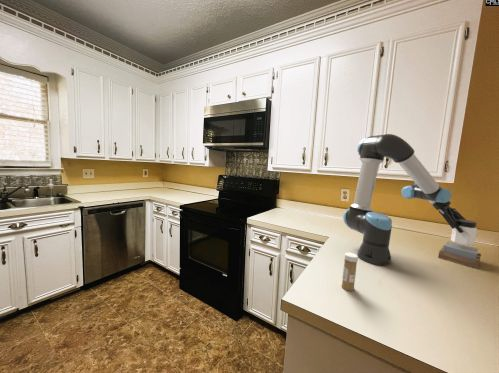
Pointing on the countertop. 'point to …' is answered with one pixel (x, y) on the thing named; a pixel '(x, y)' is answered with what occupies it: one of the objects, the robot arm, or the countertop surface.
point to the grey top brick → (460, 250)
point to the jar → (469, 228)
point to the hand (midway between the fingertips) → (471, 237)
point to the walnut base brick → (460, 259)
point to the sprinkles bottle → (349, 271)
